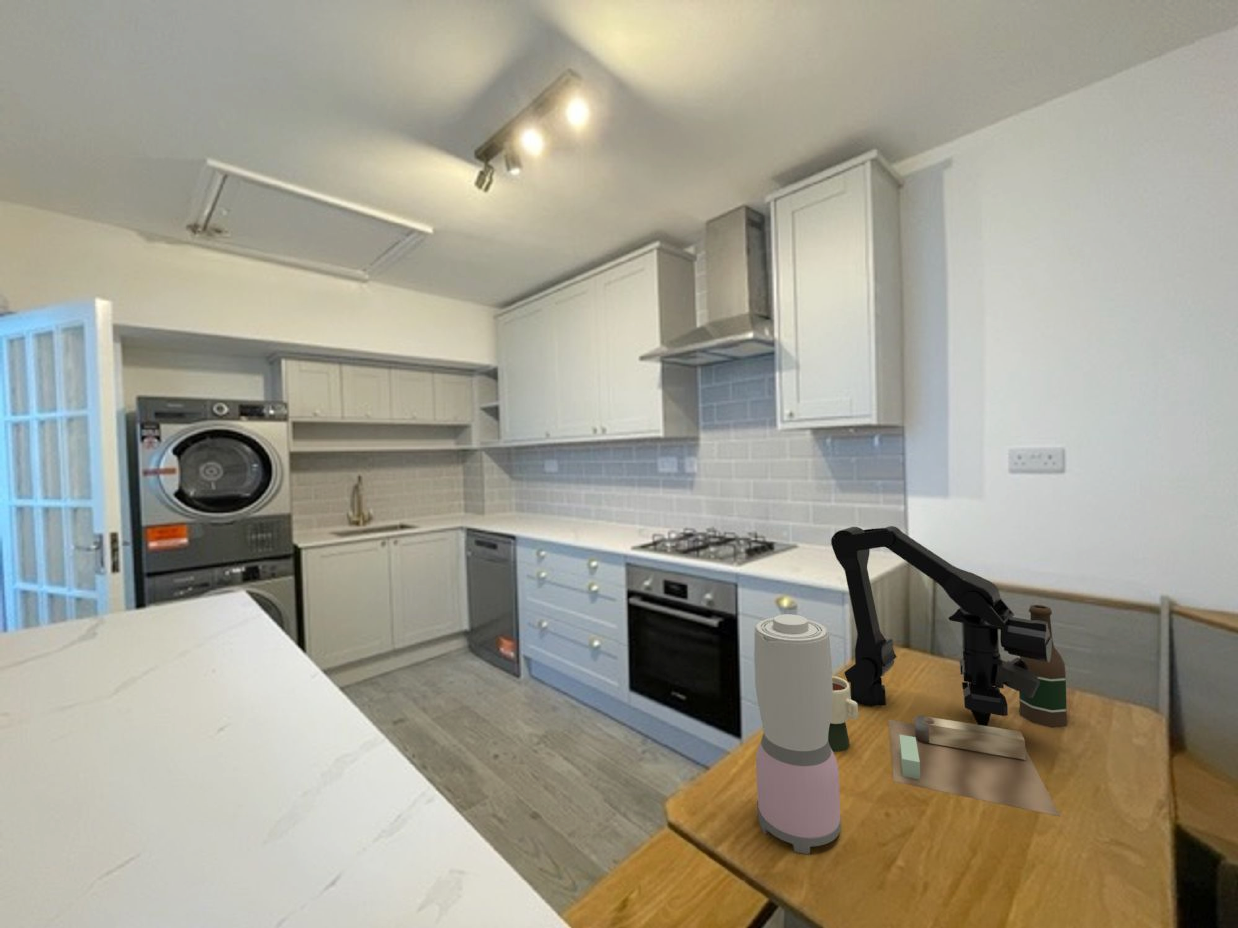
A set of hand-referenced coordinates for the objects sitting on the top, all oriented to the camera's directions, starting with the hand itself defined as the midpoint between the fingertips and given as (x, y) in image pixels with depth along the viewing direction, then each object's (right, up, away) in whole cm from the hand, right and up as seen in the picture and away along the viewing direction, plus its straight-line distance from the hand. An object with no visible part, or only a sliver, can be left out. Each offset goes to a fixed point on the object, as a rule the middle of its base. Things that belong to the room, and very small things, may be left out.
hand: (982, 728), depth 97 cm
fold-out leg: (-5, -2, -3) cm, 6 cm away
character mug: (-28, -5, +1) cm, 29 cm away
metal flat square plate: (-9, -4, -7) cm, 12 cm away
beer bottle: (+16, -2, +6) cm, 17 cm away
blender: (-40, -6, -17) cm, 44 cm away
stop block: (-18, -3, -7) cm, 20 cm away
